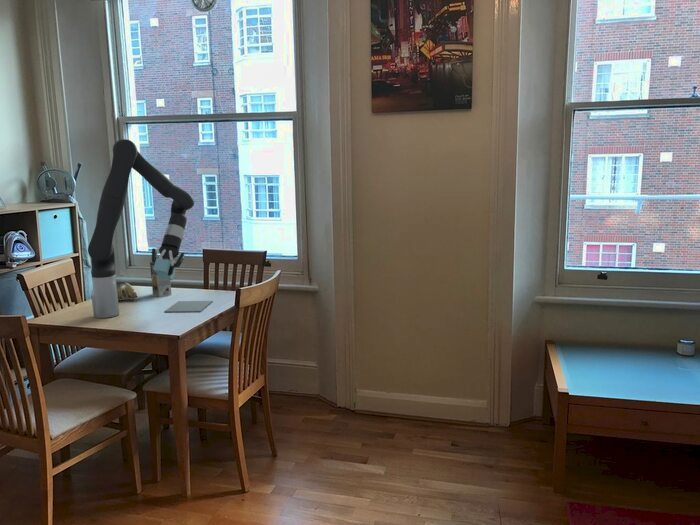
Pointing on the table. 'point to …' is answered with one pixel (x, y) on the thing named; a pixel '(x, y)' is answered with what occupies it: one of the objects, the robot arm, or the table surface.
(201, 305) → the rubber mat
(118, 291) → the ceramic sculpture
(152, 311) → the table surface
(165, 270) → the card box
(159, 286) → the coffee box
